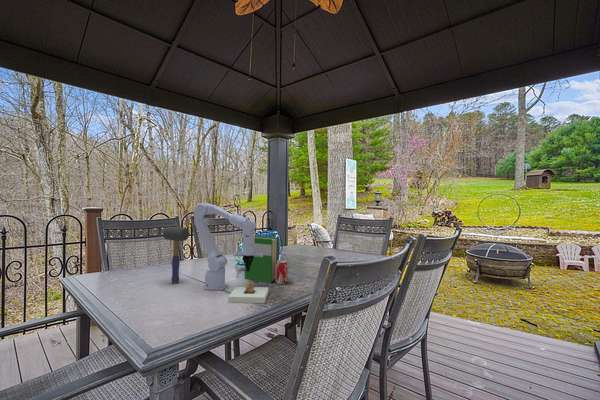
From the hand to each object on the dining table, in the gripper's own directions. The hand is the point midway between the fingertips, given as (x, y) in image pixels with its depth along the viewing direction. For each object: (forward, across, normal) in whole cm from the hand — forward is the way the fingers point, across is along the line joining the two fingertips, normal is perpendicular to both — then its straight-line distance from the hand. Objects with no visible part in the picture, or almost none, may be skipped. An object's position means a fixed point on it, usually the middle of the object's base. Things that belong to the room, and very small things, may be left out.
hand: (248, 270), depth 139 cm
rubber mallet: (+10, -41, +8) cm, 43 cm away
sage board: (+9, +3, -11) cm, 15 cm away
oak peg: (+9, +3, -11) cm, 15 cm away
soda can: (+10, +16, +12) cm, 22 cm away
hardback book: (+10, +4, +18) cm, 21 cm away
